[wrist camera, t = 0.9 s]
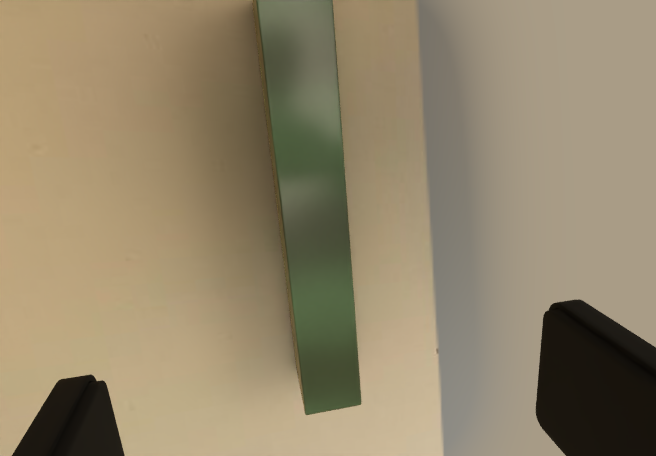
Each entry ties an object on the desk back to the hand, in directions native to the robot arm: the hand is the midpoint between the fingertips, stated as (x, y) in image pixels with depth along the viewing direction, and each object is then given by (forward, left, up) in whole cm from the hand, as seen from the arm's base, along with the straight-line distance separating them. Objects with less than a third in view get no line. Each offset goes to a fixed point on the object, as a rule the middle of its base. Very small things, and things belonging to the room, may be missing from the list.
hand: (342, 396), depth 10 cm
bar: (0, +1, -16) cm, 16 cm away
